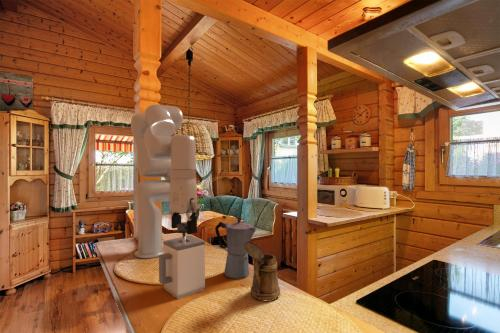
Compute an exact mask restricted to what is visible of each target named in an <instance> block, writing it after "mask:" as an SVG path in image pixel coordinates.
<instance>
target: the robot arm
mask: <svg viewBox="0 0 500 333" xmlns="http://www.w3.org/2000/svg"><path fill="white" fill-rule="evenodd" d="M183 121H184V115H183V112H182V110H181V109H180V108H179V107H177V106H173V105H172V106H171V105H164V104H151V105H149V106H147V107H146V109H145V111H144V113H137V114H134V115H133V116H132V117H131V118H130V130H131V134H132V137H133V139H134V142H135V145H136V153H137V155H136V156H137V158H136V159H137V170H138V174H139V176H140V177H142V178H163V179H151V180H142V181H140V182H138V183H137V184H136V186H135V197H136V202H137V214H138V215H137V217H138V218H137V219H138V220H137V221H138V222H137V223H138V226H137V227H138V249H137V250H135V252H134V257H135V258H140V259H152V258H159V255H162V254H163V228H162V227H163V221H162V219H163V218H162V216H163V215H162V211H161V208H159V206H158V205H157V204H156V203H160V202H161V203H162V202H163V203H164V202H168V209H169V211H170V216H171V220H170V221H171V229H177V223H180V222H182V215H186V218H187V220H186V222H187V233H186V235H192V234H196V233H198V220H199V217H200V216H199V215H200V211H201V206H200V205H199V203H198V190H197V183H196V181H197V162H196V159H197V155H196V153H197V151H196V149H197V148H196V138H195V136H193V135H189V134H175V135H173V134H174V133H175V132H176V131H177V130H178V129H180V128H181V126H182V124H183Z"/></svg>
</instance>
